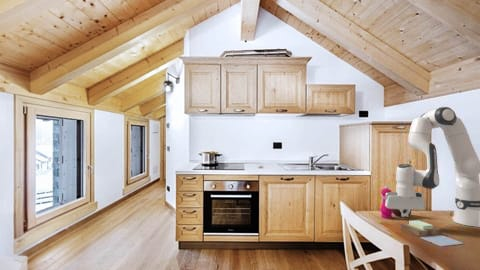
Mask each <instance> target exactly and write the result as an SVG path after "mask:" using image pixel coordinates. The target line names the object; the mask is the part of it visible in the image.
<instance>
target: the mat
mask: <svg viewBox="0 0 480 270" xmlns="http://www.w3.org/2000/svg"><path fill="white" fill-rule="evenodd" d="M419 238H420V239H422V240H425V241H427V242H429V243H431V242H432V244H434V245H436V246H438V247H450V246H458V245H464V244H465V243H464V242H462V241H459V240H456V239H454V238H451V237H448V236H446V235H443V234H442V235H434V236H425V237H419Z"/></svg>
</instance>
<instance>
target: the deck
mask: <svg viewBox="0 0 480 270" xmlns="http://www.w3.org/2000/svg"><path fill="white" fill-rule="evenodd" d="M400 231H403V232H404V233H405V232H406V233H407V234H410V235H413V236H415V237H417V238H420V237H425V236H434V235H443V231H442V228H439V227H436V226H434V225H433V229H428V230H422V229H419V228H417V227H414V226H412V225H409V223H402V224H400Z"/></svg>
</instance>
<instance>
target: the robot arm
mask: <svg viewBox="0 0 480 270" xmlns="http://www.w3.org/2000/svg"><path fill="white" fill-rule="evenodd" d="M437 128H440V129H441V130H442V132H443V135H444V138H445V140H446V144H447V146H448V149H449V151H450V154H451V156H452V159H453V161H454V164H453V165H454V177H455V178H454V179H455V199H454V204H455V205H454V208H453V209H454V210H453V216H451V218H452V221H453V222H454V223H456V224H459V225H463V226H469V227H477V228H480V177H479V175H480V159H479V156H478V154H477V152H476V150H475V147H474V146H473V143H472V140H471V138H470V134H469V132H468V130H467V127H466V126H465V123H464V122H463V121H462V119H461V118H460V117H458V116H457V115H456V113H455V111H454V110H453V109H452V108H450V107H448V106H441V107H439V108H434V109H431V110H429V111H428V112H425V113H423V114H421V115H420V117H415V118H414V119H412V122H411V124H410V127H409V131H408V137H407V141H408V145H410V146H411V148H413V149H414V150H416V151H419V152H421V153H423V154H424V155H425V156H426V169H425V170H424V169H423V170H422V169H415V168H414V167H413V165H412V164H410V163H409V164H408V163H402V164H398V165H397V167H396V171H395V181H396V185H395V192H392V191H391V192H388V193H386V195H385V198H386V201H385V206H386V207H387V208H389V209H399V210H400V212H401V215H402V217H401V218H409V217H408V214H409V213H410V209H411V211H412V210H413V211H414V210H415V211H424V210H425V209H426V200H425V198H424V197H425V195H424V193H422V192H421V191H417V190H415V187H419V188H425V189H427V190H434V189H435V188H437V187H439V185H440V175H439V170H438V169H439V167H438V166H439V165H438V155H437V154H438V153H437V147H436V145H435V144H434V143H433V142H432V140H431V137H432V135H431V134H432V130H433V129H437ZM403 209H406V210H407V212H406V213H403Z"/></svg>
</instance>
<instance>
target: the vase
mask: <svg viewBox="0 0 480 270" xmlns="http://www.w3.org/2000/svg"><path fill="white" fill-rule="evenodd" d="M406 212H407V210H406V209H403V213H406ZM411 214H412V210H411V209H410V213H409V214H408V217H407V218H409V217H410V216H411ZM392 215H394V216H395V217H398V218H403V217H402V215H401V212H400V210H399V209H393V213H392Z"/></svg>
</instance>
